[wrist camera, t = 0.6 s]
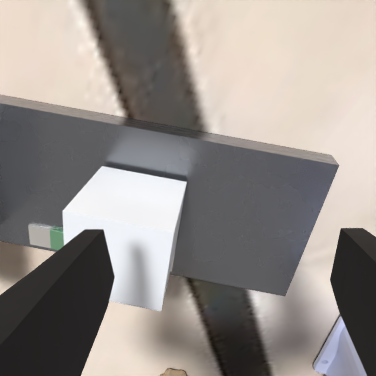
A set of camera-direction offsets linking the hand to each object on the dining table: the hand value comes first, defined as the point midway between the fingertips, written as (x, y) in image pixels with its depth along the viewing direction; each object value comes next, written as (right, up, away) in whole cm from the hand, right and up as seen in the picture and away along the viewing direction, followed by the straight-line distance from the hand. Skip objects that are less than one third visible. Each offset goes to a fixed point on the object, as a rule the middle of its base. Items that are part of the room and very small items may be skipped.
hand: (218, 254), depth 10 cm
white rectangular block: (-4, 0, +10) cm, 11 cm away
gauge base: (-5, +2, +11) cm, 13 cm away
